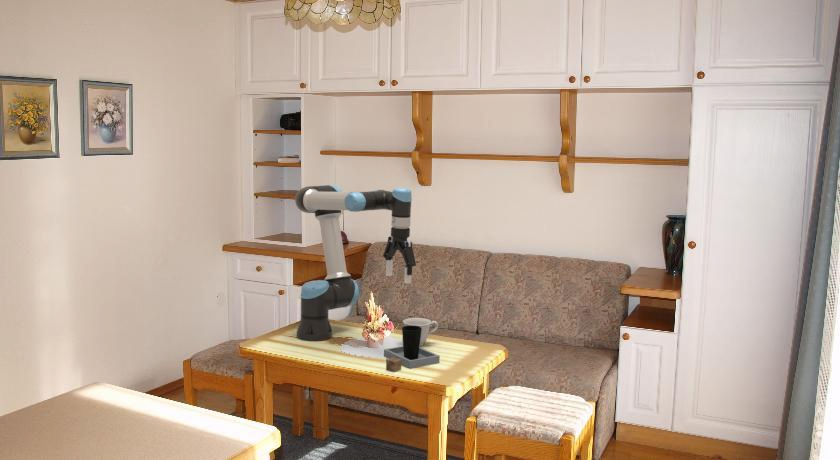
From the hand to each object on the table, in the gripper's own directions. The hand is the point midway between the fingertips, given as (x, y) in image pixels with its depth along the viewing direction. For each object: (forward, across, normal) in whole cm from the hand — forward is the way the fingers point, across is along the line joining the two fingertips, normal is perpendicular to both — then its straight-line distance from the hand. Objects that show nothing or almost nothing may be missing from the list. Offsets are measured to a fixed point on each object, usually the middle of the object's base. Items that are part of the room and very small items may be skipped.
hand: (398, 279), depth 308 cm
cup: (+28, +14, -2) cm, 32 cm away
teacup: (+29, -1, +13) cm, 32 cm away
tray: (+29, +14, -2) cm, 32 cm away
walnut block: (+29, +21, -14) cm, 39 cm away
